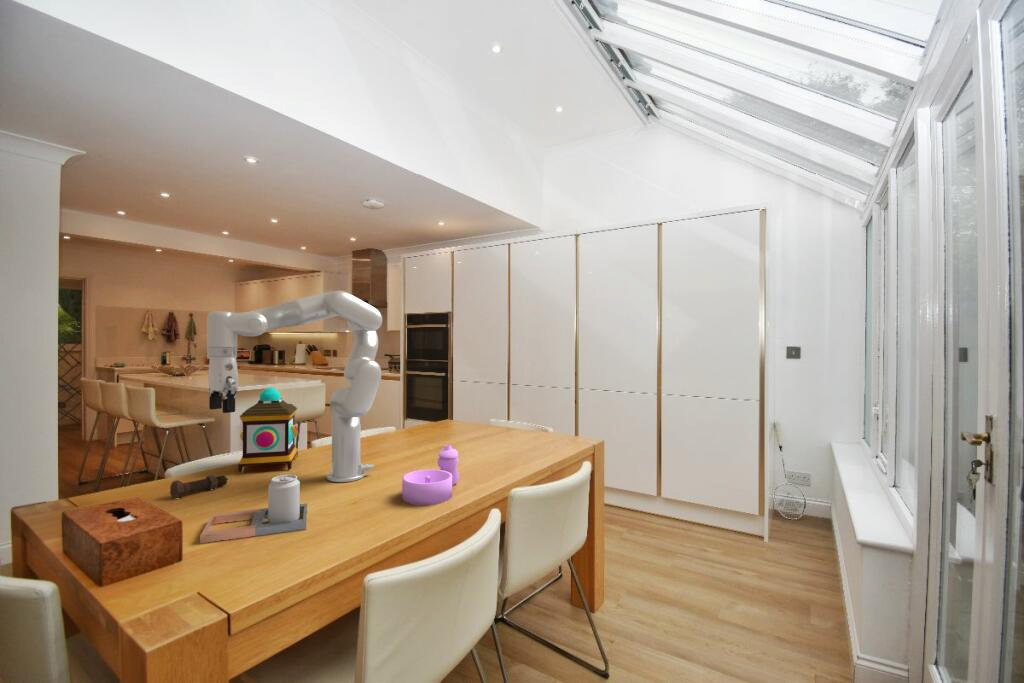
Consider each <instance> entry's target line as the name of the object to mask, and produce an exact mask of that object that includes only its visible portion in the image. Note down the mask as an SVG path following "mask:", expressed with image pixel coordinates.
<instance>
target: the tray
mask: <svg viewBox="0 0 1024 683" xmlns="http://www.w3.org/2000/svg"><path fill="white" fill-rule="evenodd" d="M300 514H303V516H302V518H299V519H298V520H292V521H284V522H277V523H269V522H268V523H264V522H266V519H267V518H266V517H268V507H266V508H265V507H264V508H256V509H249V510H248V509H247V510H239V511H231V512H229V511H228V512H221V513H213V514H212V515H210V518H209V520H208V521H207V523H206V525H205V527H204V528H203V530H202V532H201V533H200V535H199V538H200V540H199V541H200V542H199V543H202V544H209V543H215V541H216V542H221V541H220V540H224V541H229V539H231V540H236V539H237V538H238V539H244V538H245V539H246V538H251V537H252V536H253V537H259V536H266V535H274V534H281V533H283V534H284V533H288V532H296V531H302V530H303V531H304V530H307V519H308V503H300ZM265 518H266V519H265ZM249 519H253V520H251V523H250V525H245V526H241V527H240V526H239V527H230V528H224V529H215V530H213V527H214V526H213V525H219V524H218V523H221V524H226V523H225V522H229V523H234V522H233V521H237V522H244V521H243V520H245V521H250V520H249ZM238 539H237V540H238ZM208 542H209V543H208Z"/></svg>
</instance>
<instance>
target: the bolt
mask: <svg viewBox="0 0 1024 683" xmlns="http://www.w3.org/2000/svg"><path fill="white" fill-rule="evenodd" d="M226 484H228V477H227V476H226V475H218V476H216V475H214V474H210V475H206V476H205V478H203V479H199V480H198V479H197V480H193V481H188V482H183V481H180V480H173V481H172V482H171V484H170V488H169V490H170V491H169V493H170V494H169V495H170V496H171V498H172V497H173V498H172V499H174V498H180V499H182V498H183V495H187V494H190V493H194V492H199V491H203V490H207V489H210V490H209V491H212V490H211V489H214V490H216V489H217V487H220V486H221V487H222V486H225V485H226ZM215 488H216V489H215ZM181 497H182V498H181Z"/></svg>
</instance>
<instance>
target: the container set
mask: <svg viewBox="0 0 1024 683" xmlns="http://www.w3.org/2000/svg"><path fill="white" fill-rule="evenodd" d="M437 455H438V459H437V466H438V468H440V469H432V468H431V469H418V470H414V471H413V470H412V471H410V472H407V473H404V474H403V475H402V486H401V490H402V491H401V495H402V496H401V499H402V500H404V501H403V502H405V503H406V502H407V504H409V503H410V505H414V504H416V505H415V506H433V504H434V505H439V504H443V503H445V501H446V502H447V501H450V500H451V499H452V497H453V486H454V485H456V484H457V483H458V481H459V479H460V473H459V471H458V469H457V467H458V466H459V464H460V459H459V457H458V455H459V452H458V450H456V449H455V448H452V444H445V445H444V448H442V449H440V450H439V451H438V453H437ZM442 502H443V503H442Z"/></svg>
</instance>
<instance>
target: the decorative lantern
mask: <svg viewBox="0 0 1024 683" xmlns="http://www.w3.org/2000/svg"><path fill="white" fill-rule="evenodd" d="M297 411H298V407H297V406H295V405H294V404H292V403H287V402H286V401H285V400H283V398H281V393H280V391H278V390H277V389H276V388H275V387H272V386H269V387H267V388H265V389H264V390H263V391H262V392H261V393H260V395H259V400H258V401H257V403H256V404H254V405H252V406H250V407H248V408H247V409H246V410H245V411H243V412H242V413H241V414H240V415H239V419H240V421H241V423H242V432H240V436H239V437H240V440H241V441H242V456H241V458H240V460H239V463H238V464H237V466H238V468H237V470H238V473H239V474H243V473H244V471H245V470H244V469H245V467H246V466H247V467H248V466H249V467H251V466H263V465H278V464H280V465H281V464H284V465H286V468H287V470H288V471H290V469H292V468H293V467H292V464H293V461H294V460H297V459H298V454H299V451H298V449H297V447H296V445H295V438H296V437H298V435H299V429H298V427H297V425H295V418H296V417H295V416H296V413H297ZM296 458H297V459H296Z"/></svg>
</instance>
